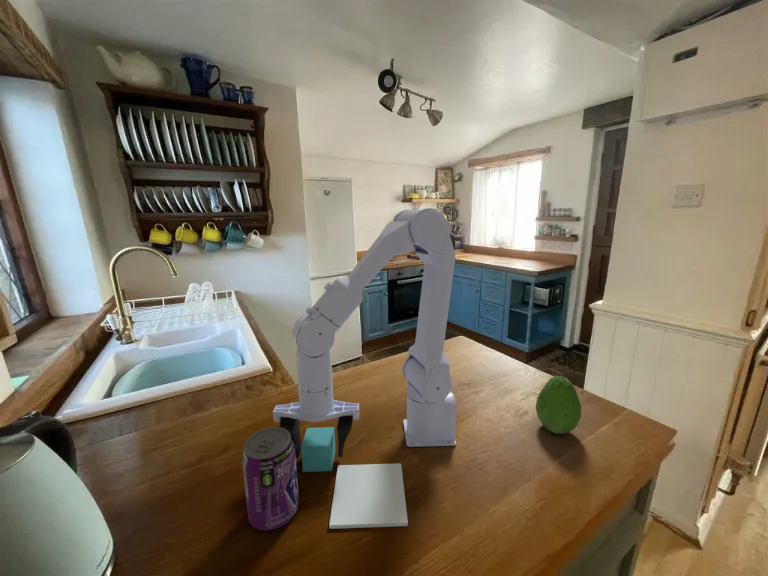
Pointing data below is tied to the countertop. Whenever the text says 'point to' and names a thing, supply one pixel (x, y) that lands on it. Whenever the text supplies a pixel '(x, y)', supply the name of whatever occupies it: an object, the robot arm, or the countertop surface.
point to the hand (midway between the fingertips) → (319, 453)
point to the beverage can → (270, 478)
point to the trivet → (368, 497)
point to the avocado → (558, 406)
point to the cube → (318, 449)
